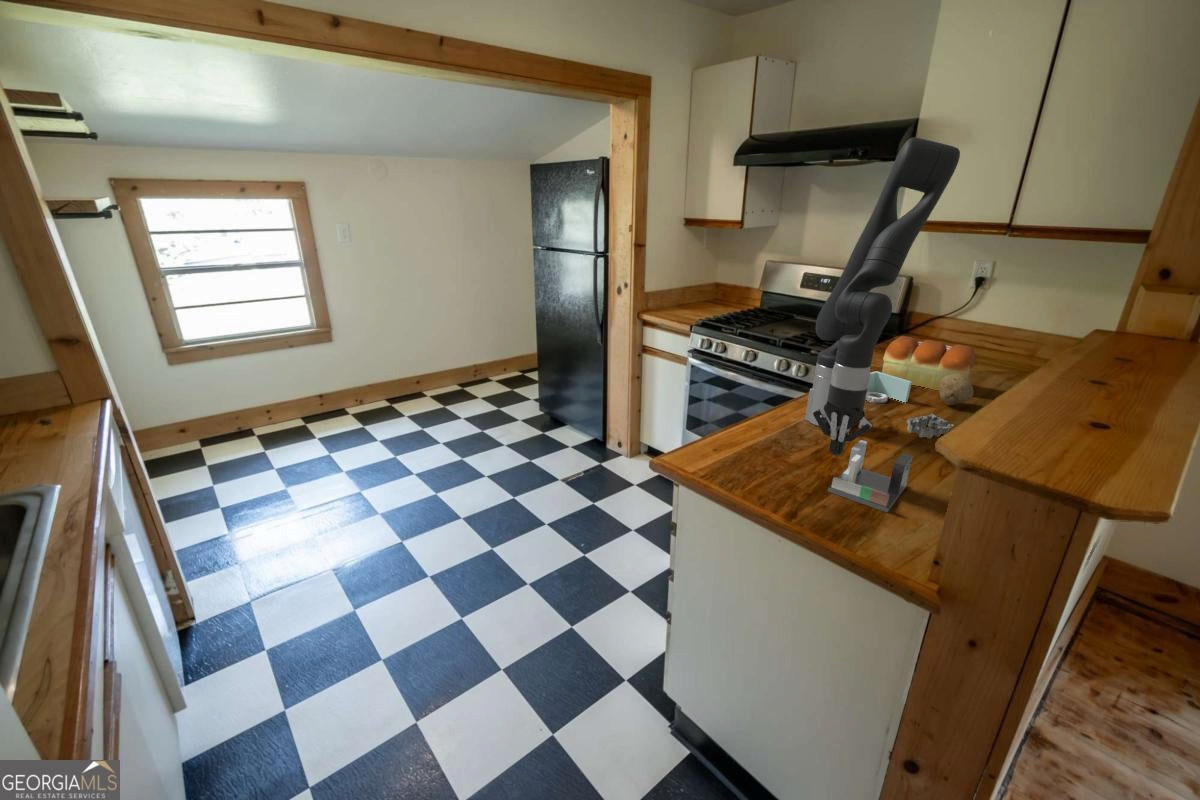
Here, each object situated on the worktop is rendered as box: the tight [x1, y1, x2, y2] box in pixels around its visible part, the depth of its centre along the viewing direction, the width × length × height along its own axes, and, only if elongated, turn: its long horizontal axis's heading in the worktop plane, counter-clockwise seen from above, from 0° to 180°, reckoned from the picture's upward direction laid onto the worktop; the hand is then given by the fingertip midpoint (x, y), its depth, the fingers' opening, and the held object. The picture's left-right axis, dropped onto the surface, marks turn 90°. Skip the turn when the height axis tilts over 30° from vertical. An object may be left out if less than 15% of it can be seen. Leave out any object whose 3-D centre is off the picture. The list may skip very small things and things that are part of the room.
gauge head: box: [842, 439, 868, 480], centre depth 115 cm, size 1×10×7 cm, turn 137°
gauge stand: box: [827, 453, 914, 513], centre depth 113 cm, size 12×14×8 cm
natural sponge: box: [938, 374, 974, 406], centre depth 159 cm, size 9×9×10 cm
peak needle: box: [847, 454, 861, 483], centre depth 111 cm, size 1×4×7 cm, turn 138°
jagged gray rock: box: [905, 413, 955, 439], centre depth 142 cm, size 11×8×4 cm
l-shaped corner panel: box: [865, 370, 912, 404], centre depth 164 cm, size 12×12×8 cm
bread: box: [881, 335, 977, 391], centre depth 178 cm, size 25×12×15 cm, turn 47°
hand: (835, 454), depth 120 cm, fingers closed
